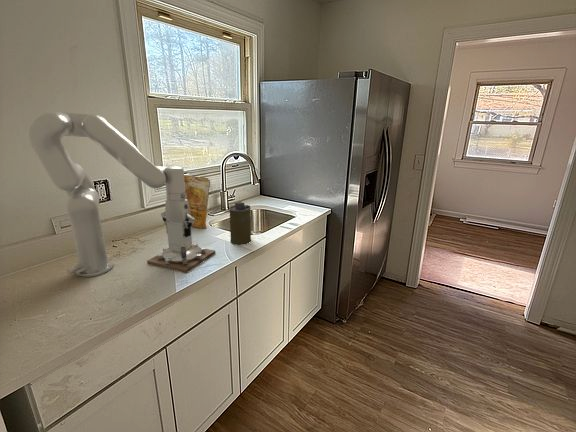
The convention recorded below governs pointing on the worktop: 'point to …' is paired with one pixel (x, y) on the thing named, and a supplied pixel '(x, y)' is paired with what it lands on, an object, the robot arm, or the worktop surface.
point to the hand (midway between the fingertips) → (178, 234)
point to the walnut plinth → (181, 266)
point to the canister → (240, 223)
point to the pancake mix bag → (197, 198)
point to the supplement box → (177, 236)
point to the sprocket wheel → (182, 254)
